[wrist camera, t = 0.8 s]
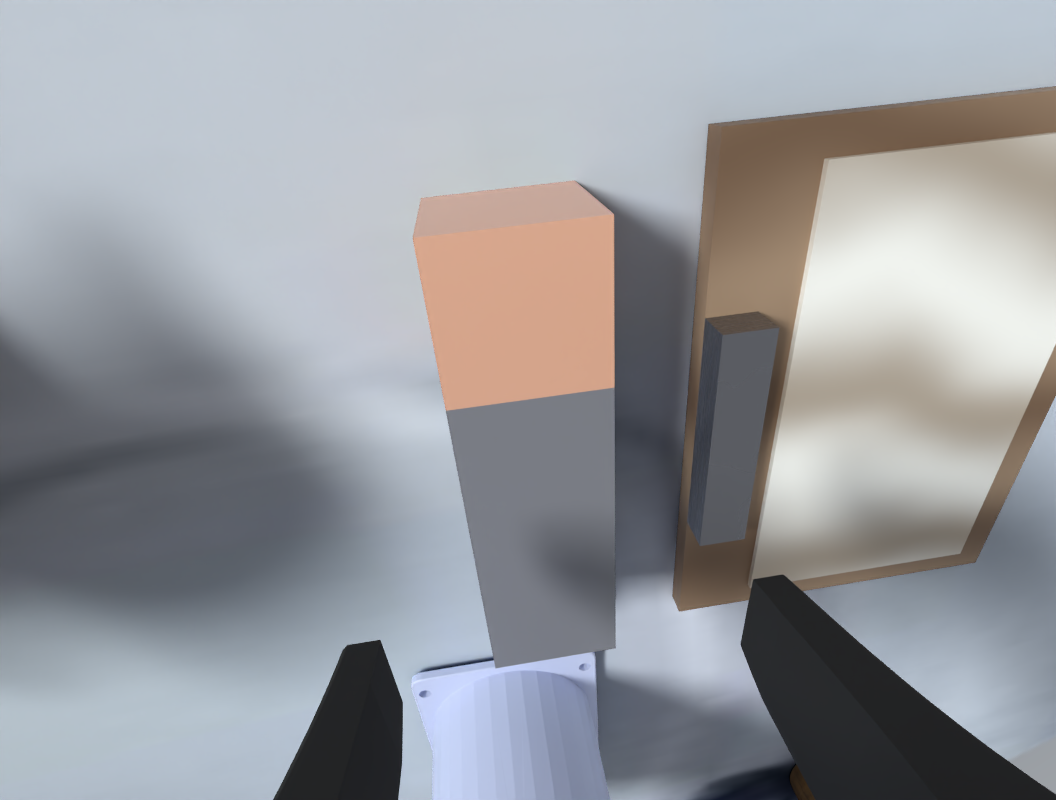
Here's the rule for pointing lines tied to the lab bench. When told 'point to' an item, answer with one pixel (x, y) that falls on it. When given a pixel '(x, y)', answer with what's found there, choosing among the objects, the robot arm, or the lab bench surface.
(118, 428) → the lab bench surface
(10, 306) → the lab bench surface
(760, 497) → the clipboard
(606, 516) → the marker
